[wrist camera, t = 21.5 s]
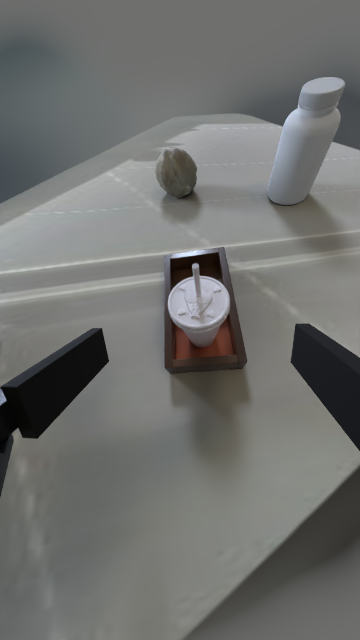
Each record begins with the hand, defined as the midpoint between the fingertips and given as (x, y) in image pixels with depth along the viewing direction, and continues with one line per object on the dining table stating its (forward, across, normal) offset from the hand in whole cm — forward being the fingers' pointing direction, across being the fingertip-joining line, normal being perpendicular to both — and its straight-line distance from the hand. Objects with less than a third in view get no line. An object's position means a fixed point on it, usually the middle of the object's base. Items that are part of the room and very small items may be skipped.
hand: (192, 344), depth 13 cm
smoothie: (+14, 0, -6) cm, 15 cm away
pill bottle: (+37, +18, +16) cm, 44 cm away
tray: (+18, 0, -3) cm, 18 cm away
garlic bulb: (+41, -6, +20) cm, 46 cm away
